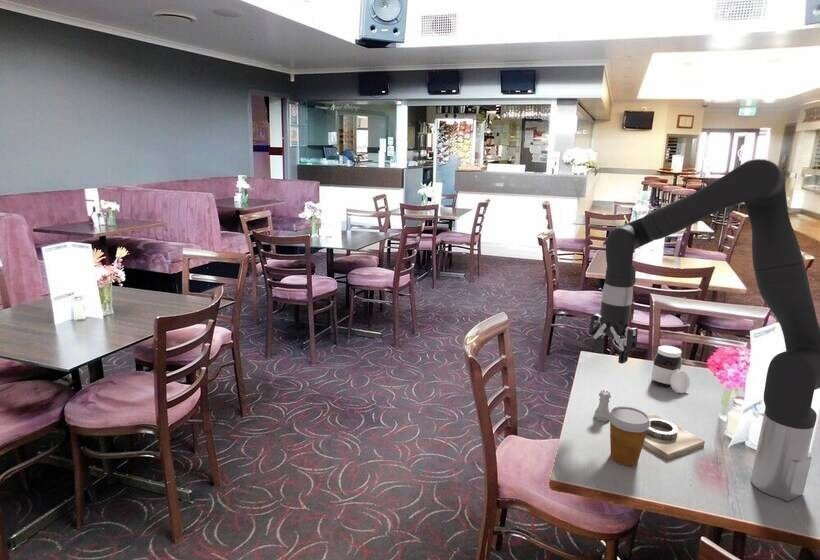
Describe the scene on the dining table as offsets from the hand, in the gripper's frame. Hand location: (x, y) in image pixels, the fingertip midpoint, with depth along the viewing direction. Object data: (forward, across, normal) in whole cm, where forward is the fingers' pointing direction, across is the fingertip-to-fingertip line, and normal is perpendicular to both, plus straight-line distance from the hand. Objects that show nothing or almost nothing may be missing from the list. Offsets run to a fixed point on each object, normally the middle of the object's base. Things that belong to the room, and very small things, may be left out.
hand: (609, 357), depth 147 cm
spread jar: (+19, +6, -36) cm, 41 cm away
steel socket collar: (+17, -14, -6) cm, 23 cm away
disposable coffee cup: (+19, -17, +10) cm, 27 cm away
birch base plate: (+18, -14, -6) cm, 24 cm away
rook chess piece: (+19, 0, 0) cm, 19 cm away
